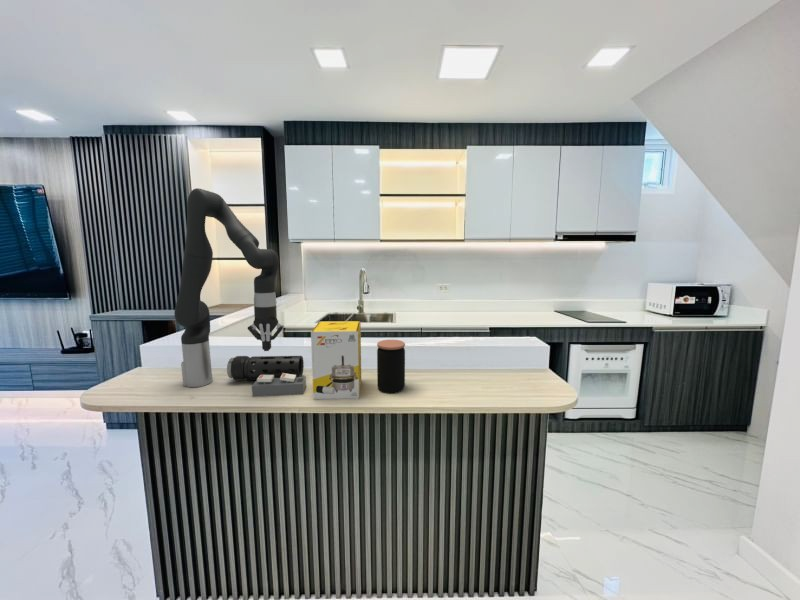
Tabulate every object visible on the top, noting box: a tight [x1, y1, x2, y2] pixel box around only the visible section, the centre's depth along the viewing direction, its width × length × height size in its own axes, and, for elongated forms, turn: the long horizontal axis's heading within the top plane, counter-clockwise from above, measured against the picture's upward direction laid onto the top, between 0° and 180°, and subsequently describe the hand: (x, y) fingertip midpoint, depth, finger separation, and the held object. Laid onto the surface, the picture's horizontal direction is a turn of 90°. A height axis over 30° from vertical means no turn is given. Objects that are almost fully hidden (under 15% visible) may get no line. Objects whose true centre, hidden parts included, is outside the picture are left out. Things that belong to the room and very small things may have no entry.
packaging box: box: [310, 320, 362, 401], centre depth 125 cm, size 16×16×25 cm
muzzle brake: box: [226, 355, 305, 382], centre depth 135 cm, size 10×28×10 cm, turn 93°
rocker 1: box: [257, 375, 274, 382], centre depth 124 cm, size 5×4×1 cm
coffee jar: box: [376, 339, 406, 394], centre depth 127 cm, size 11×11×18 cm
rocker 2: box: [280, 373, 296, 382], centre depth 125 cm, size 5×4×1 cm
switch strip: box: [251, 376, 307, 398], centre depth 125 cm, size 18×7×4 cm, turn 97°
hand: (267, 350), depth 123 cm, fingers closed
